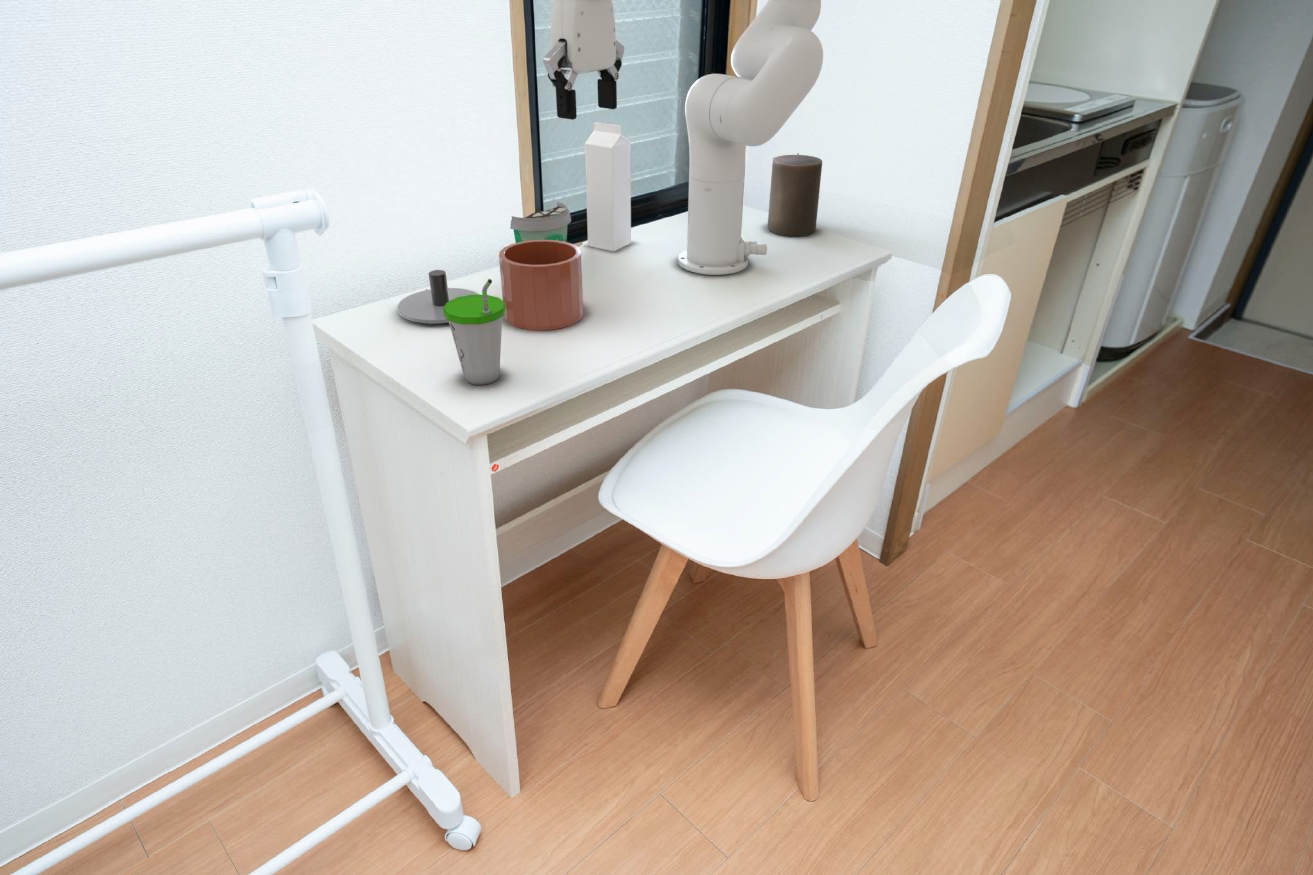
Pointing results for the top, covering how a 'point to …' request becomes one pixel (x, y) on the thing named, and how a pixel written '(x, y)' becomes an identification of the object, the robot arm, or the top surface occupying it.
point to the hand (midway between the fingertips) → (587, 113)
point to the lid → (431, 300)
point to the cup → (477, 334)
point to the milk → (608, 187)
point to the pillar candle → (794, 194)
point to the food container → (542, 225)
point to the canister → (541, 284)
